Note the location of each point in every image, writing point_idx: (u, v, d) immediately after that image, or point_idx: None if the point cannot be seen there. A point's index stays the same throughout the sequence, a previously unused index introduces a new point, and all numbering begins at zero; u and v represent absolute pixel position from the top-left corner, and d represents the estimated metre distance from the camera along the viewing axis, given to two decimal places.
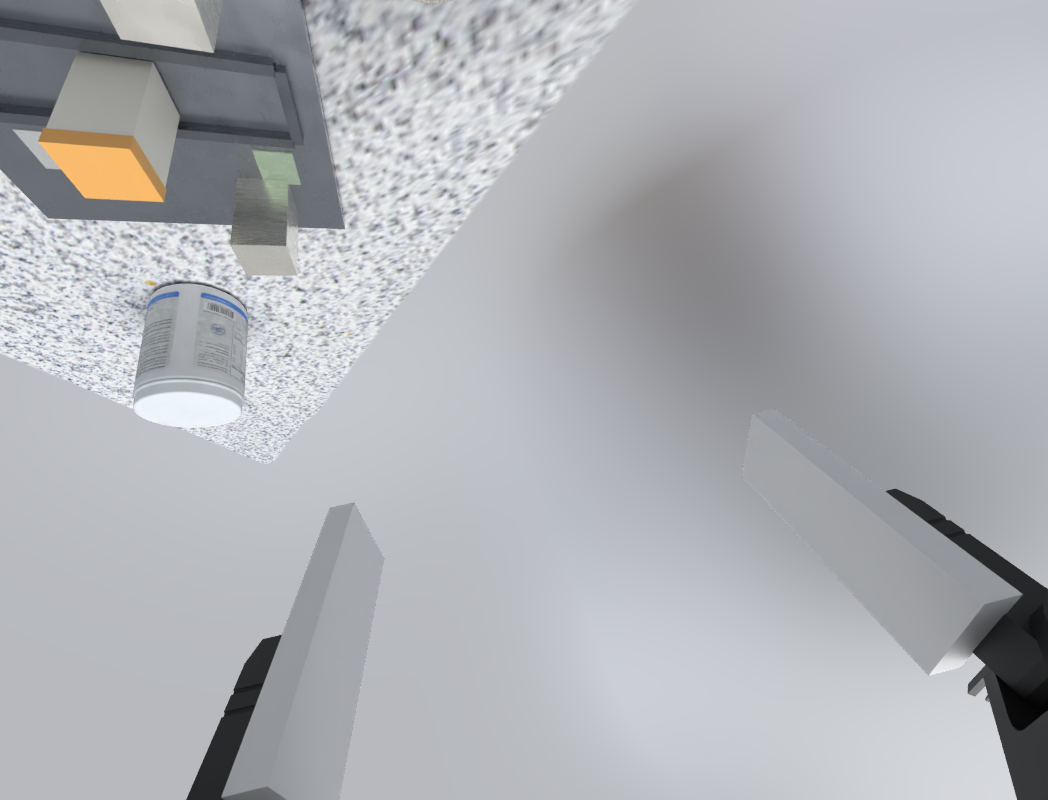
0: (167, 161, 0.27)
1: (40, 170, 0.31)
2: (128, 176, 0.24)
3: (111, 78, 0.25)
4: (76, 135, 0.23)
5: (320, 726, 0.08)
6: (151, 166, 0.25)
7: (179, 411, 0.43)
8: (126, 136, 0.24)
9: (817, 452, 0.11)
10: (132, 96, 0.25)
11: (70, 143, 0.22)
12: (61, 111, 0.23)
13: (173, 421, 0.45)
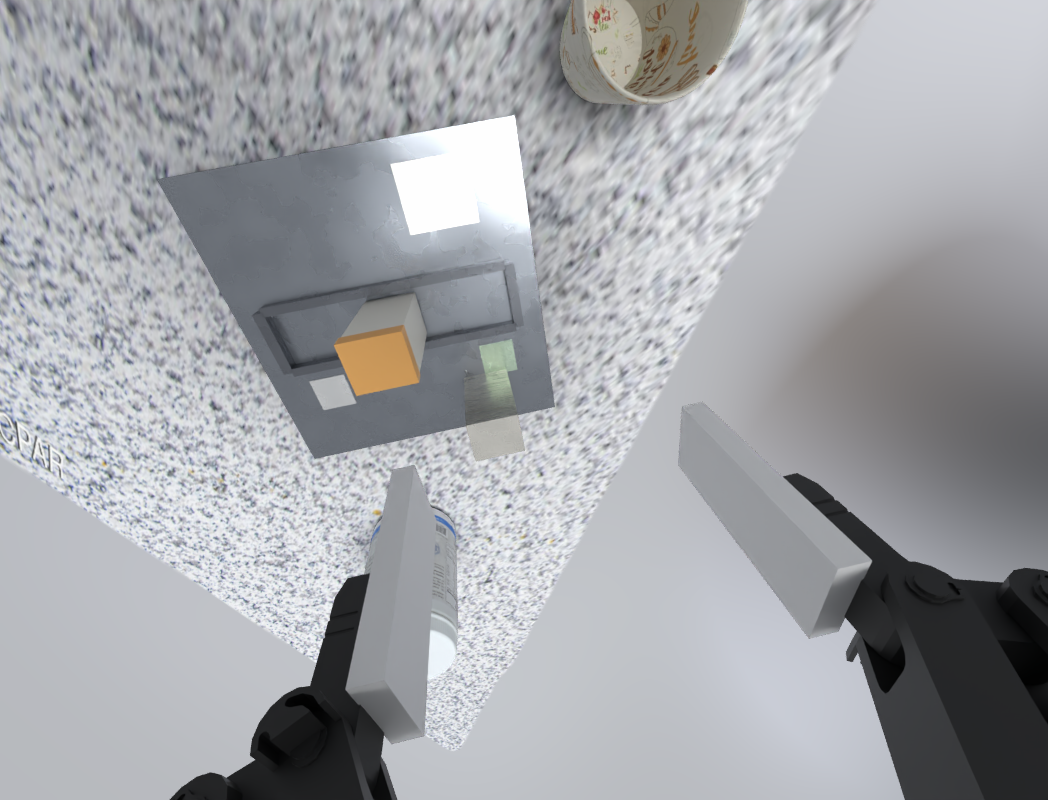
0: (421, 355, 0.28)
1: (319, 413, 0.36)
2: (395, 361, 0.25)
3: (387, 305, 0.29)
4: (361, 335, 0.24)
5: (409, 646, 0.09)
6: (412, 352, 0.26)
7: None
8: (398, 326, 0.25)
9: (730, 440, 0.12)
10: (401, 308, 0.28)
11: (356, 340, 0.24)
12: (352, 327, 0.26)
13: None
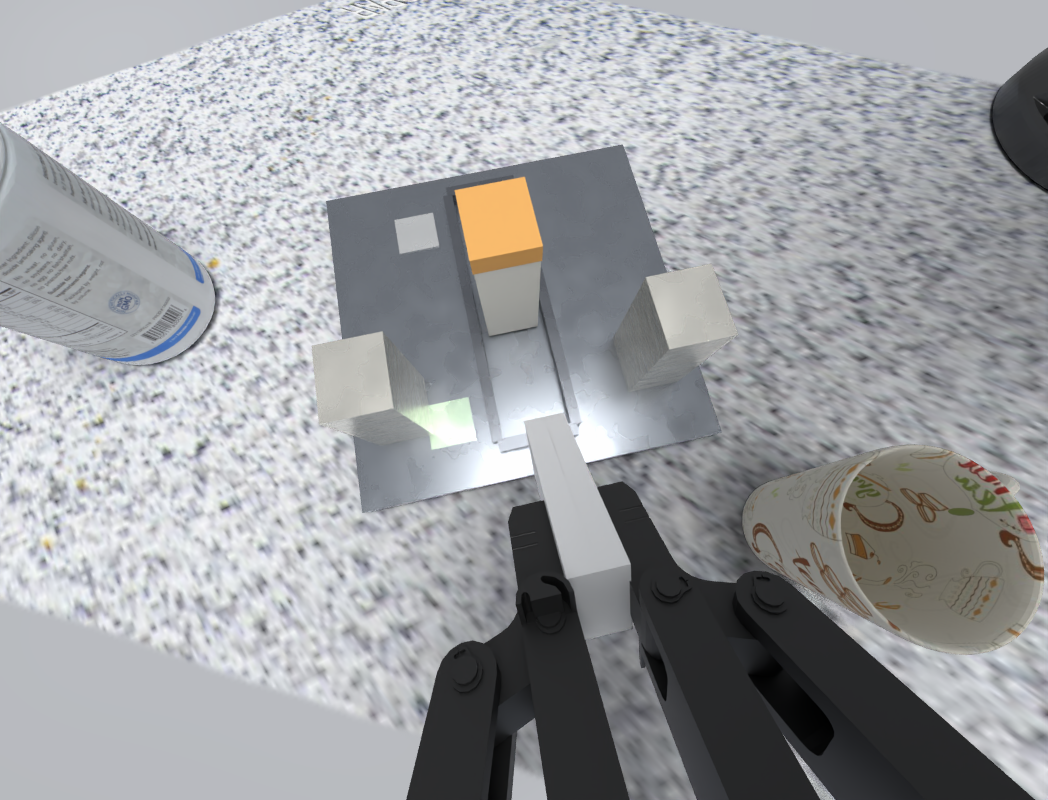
0: (484, 296, 0.22)
1: (389, 215, 0.30)
2: (501, 236, 0.19)
3: None
4: None
5: None
6: (505, 267, 0.20)
7: None
8: None
9: (568, 450, 0.13)
10: None
11: (530, 200, 0.20)
12: None
13: None
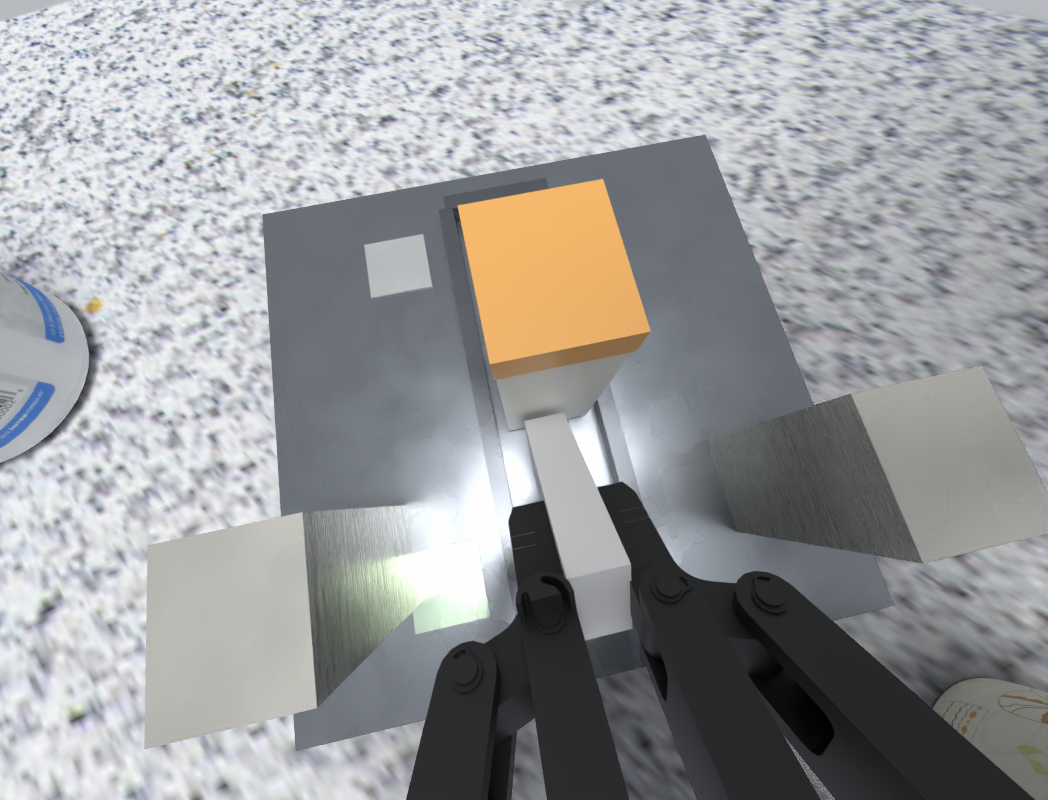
0: (510, 399, 0.12)
1: (357, 238, 0.20)
2: (559, 307, 0.09)
3: None
4: None
5: None
6: (560, 365, 0.10)
7: None
8: None
9: (568, 450, 0.13)
10: None
11: (617, 228, 0.09)
12: None
13: None
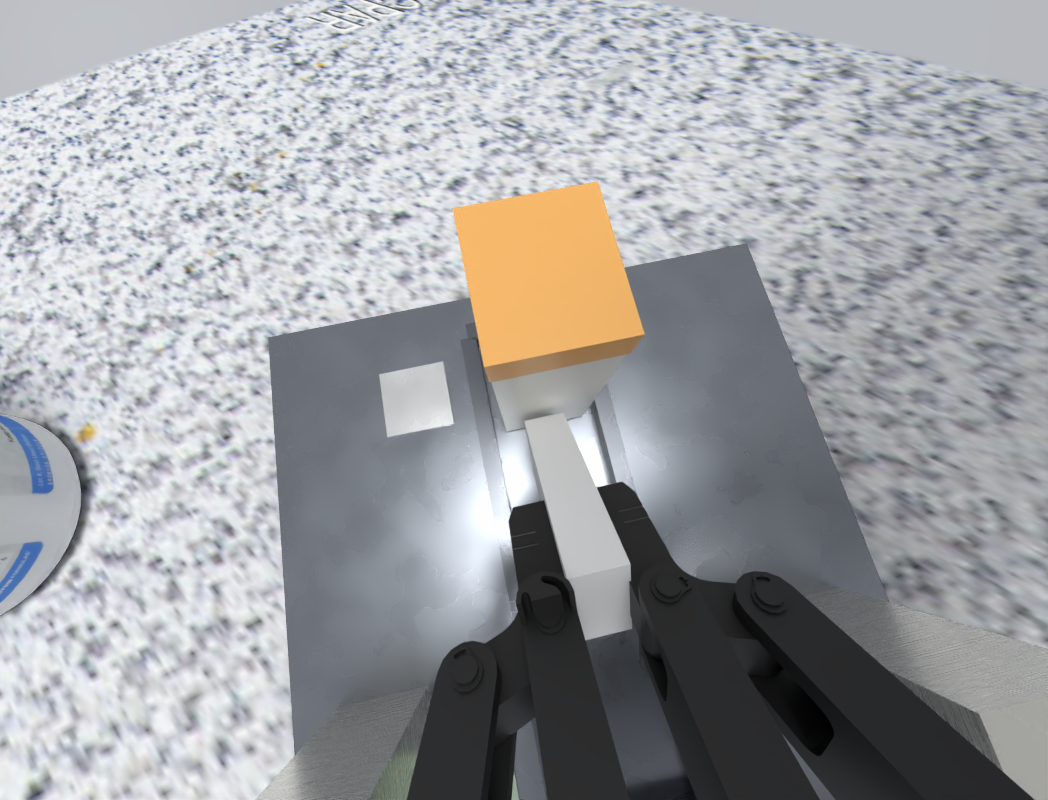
0: (507, 400, 0.12)
1: (372, 365, 0.18)
2: (553, 310, 0.09)
3: None
4: None
5: None
6: (555, 367, 0.10)
7: None
8: None
9: (568, 450, 0.13)
10: None
11: (612, 230, 0.09)
12: None
13: None
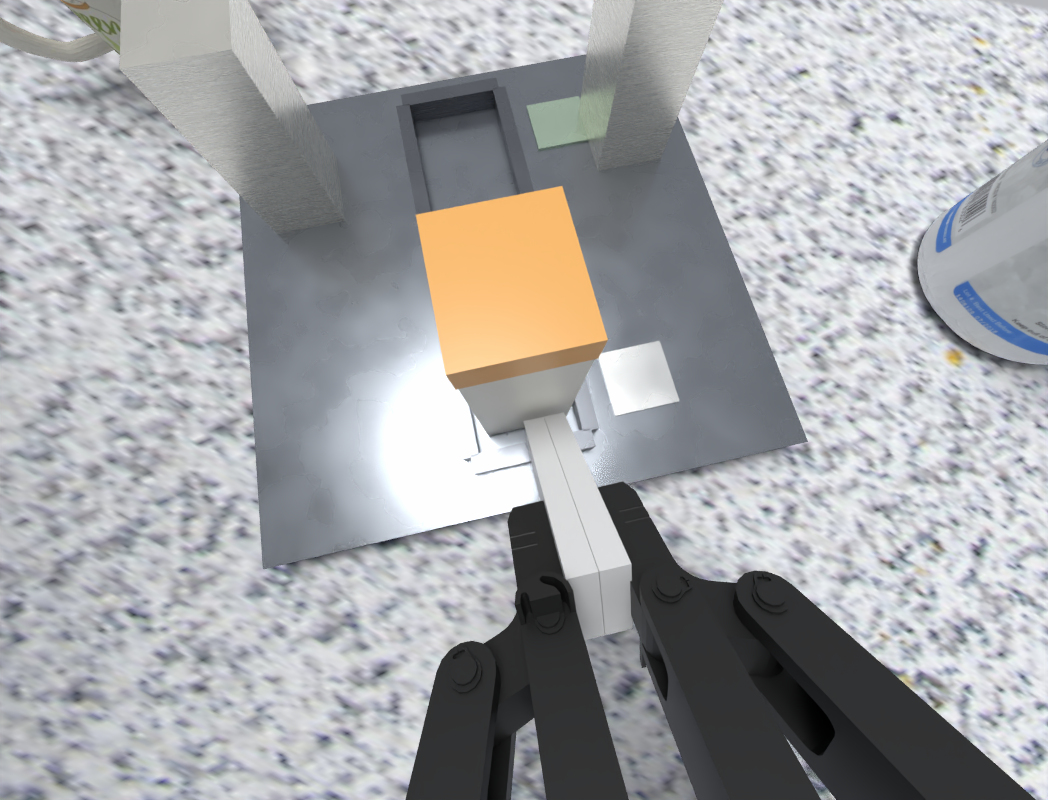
0: None
1: (688, 411, 0.18)
2: (499, 234, 0.09)
3: None
4: None
5: None
6: None
7: None
8: None
9: (569, 450, 0.13)
10: None
11: (435, 318, 0.09)
12: None
13: None
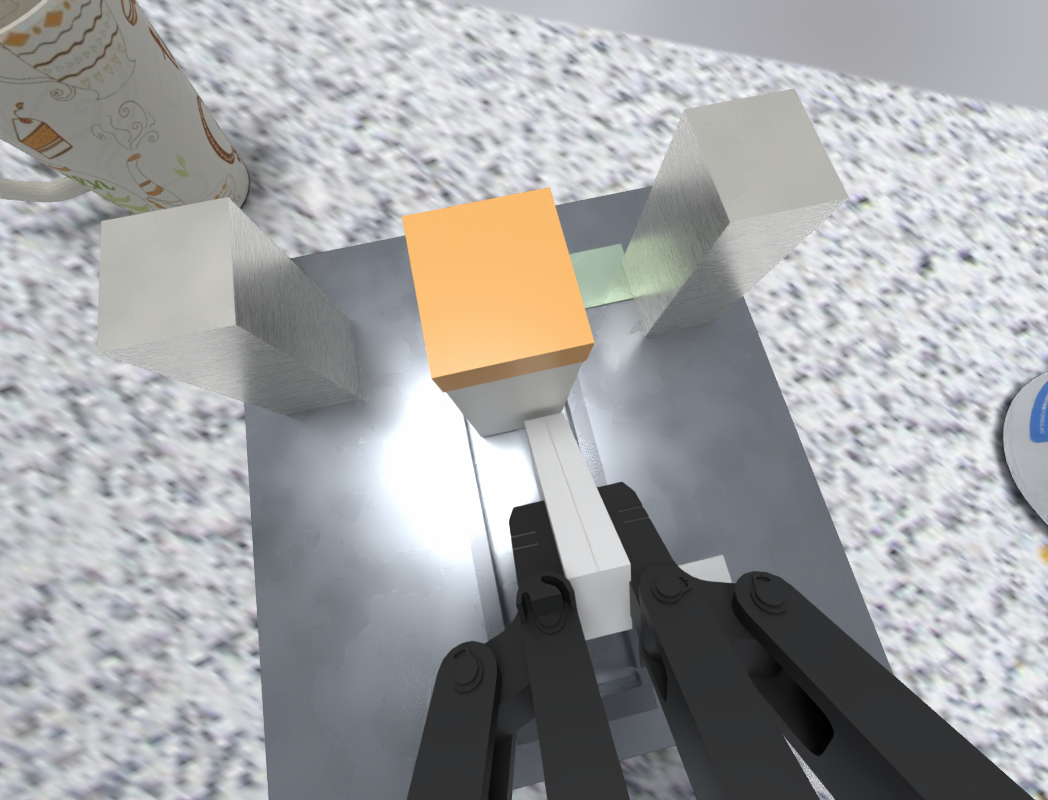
0: None
1: None
2: (486, 236, 0.09)
3: None
4: None
5: None
6: None
7: None
8: None
9: (568, 450, 0.13)
10: None
11: None
12: None
13: None
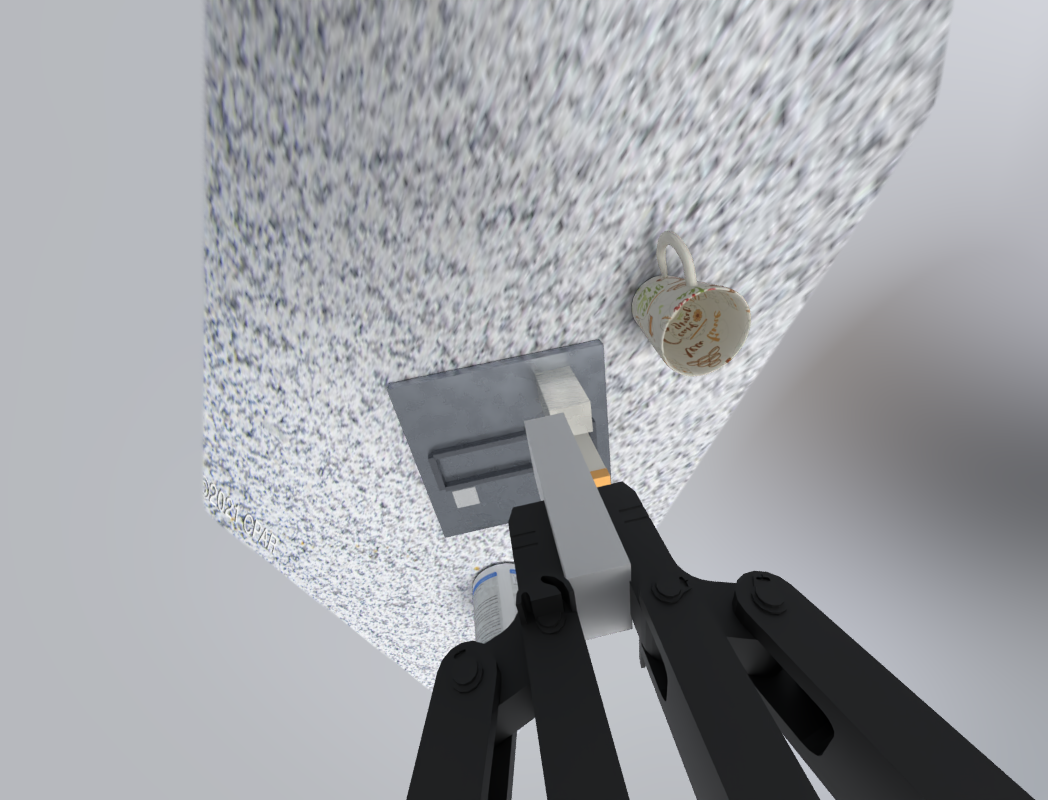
0: None
1: (454, 510, 0.52)
2: None
3: None
4: None
5: None
6: None
7: None
8: (603, 469, 0.41)
9: (568, 450, 0.13)
10: (589, 447, 0.45)
11: None
12: None
13: None
